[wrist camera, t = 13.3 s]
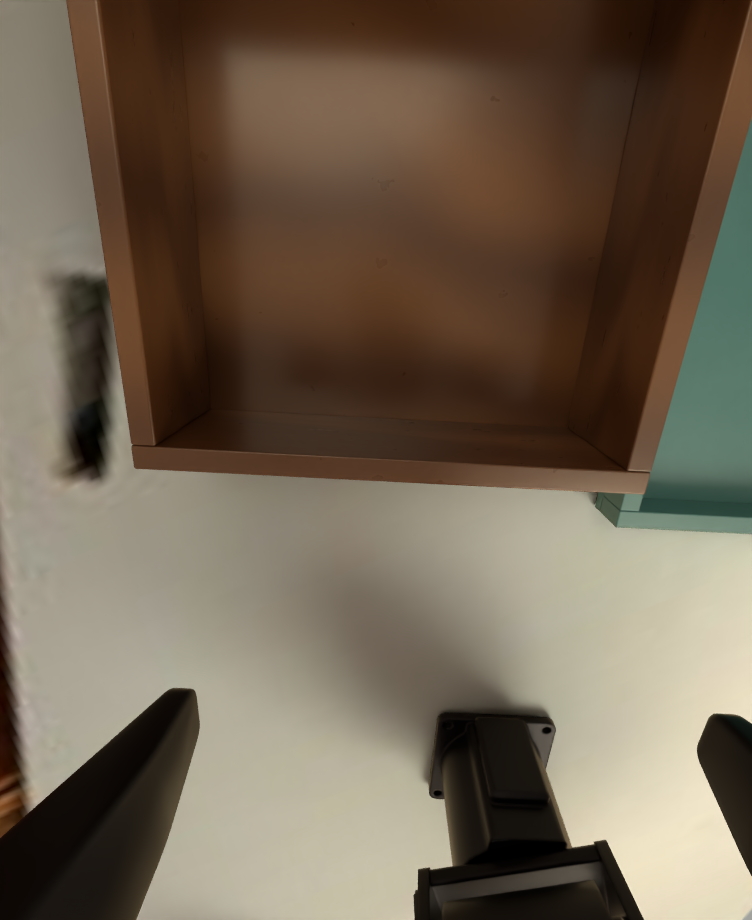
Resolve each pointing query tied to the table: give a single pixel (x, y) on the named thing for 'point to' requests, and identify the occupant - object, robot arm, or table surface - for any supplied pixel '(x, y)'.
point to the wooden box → (409, 228)
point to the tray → (708, 398)
